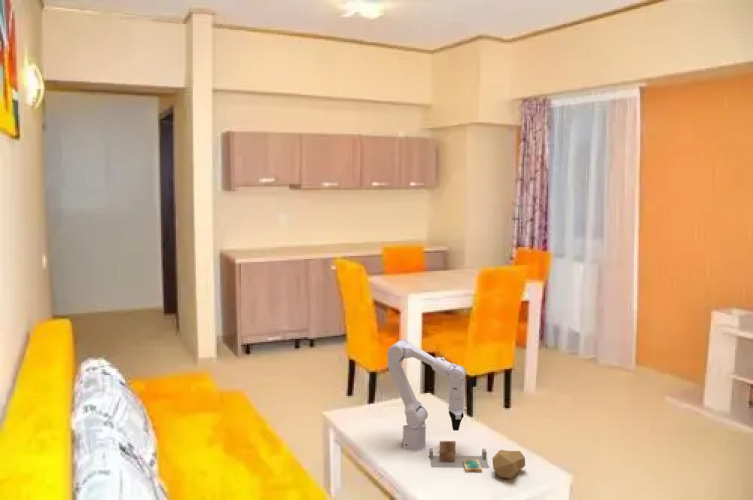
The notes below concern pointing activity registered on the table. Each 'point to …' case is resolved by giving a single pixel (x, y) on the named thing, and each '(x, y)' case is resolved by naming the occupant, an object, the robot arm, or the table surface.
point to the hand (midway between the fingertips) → (455, 429)
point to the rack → (457, 460)
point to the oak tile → (472, 465)
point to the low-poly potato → (508, 463)
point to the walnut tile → (447, 451)
